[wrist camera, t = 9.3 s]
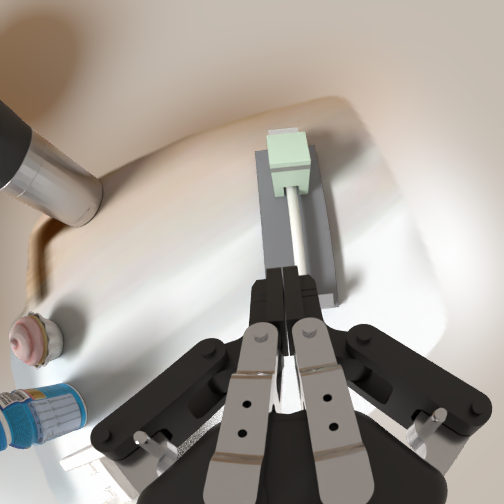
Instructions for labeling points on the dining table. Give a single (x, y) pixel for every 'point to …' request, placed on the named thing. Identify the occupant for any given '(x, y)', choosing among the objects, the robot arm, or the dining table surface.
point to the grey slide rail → (297, 226)
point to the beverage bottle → (39, 415)
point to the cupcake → (36, 340)
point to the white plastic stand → (103, 474)
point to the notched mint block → (289, 161)
